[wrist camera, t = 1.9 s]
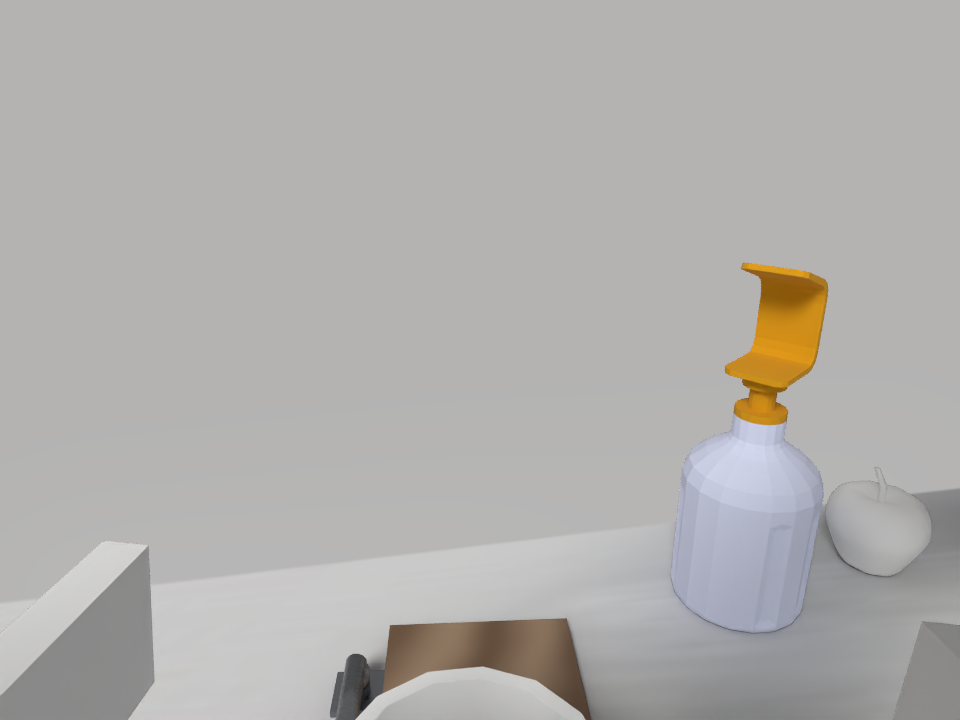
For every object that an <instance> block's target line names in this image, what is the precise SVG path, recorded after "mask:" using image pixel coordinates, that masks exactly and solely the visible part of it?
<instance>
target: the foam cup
mask: <svg viewBox="0 0 960 720" xmlns="http://www.w3.org/2000/svg"><path fill="white" fill-rule="evenodd" d="M355 720H585V718H584V716H583V715H582V713H581V712H579V711H578V710H577V709H575V708H574V707H572V706H571V705H570V704H568V703H567V702H565V701H564V700H563V699H561V698H560V697H559V696H557V695H556V694H554V693H553V692H552V691H550V690H549V689H547V688H546V687H545V686H543V685H542V684H540V683H539V682H538V681H536V680H533V679H529V678H525V677H521V676H518V675H514V674H510V673H506V672H502V671H498V670H494V669H491V668H487V667H473V668H462V669H452V670H442V671H431V672H427V673H425V674H422V675H420V676H418V677H416V678H414V679H412V680H410V681H408V682H406V683H404V684H402V685H400V686H397V687H395V688H393V689H391V690H389V691H387V692H385V693H383V694H381V695H379V696H377V697H376V698H375V699H374V700H373V701H372V702H371V703H370V704H369V706H368V707H367V708H366V709H365V710H364V711H363V712H362V713H361V714H360V715H359V716H358V717H357V718H356V719H355Z"/></svg>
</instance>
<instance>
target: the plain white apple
mask: <svg viewBox="0 0 960 720" xmlns="http://www.w3.org/2000/svg"><path fill="white" fill-rule="evenodd" d="M875 471H876V474H877V478H878V481H879V483H877V482H873V481H858V482H848V483H844V484H841V485H840V486H838V487H837V488H836V489H835V491H833V492H832V494H831V495H830V497H829V499H828V502H827V504H826V509H825V516H826V521H827V525H828V528H829V531H830V534H831V536H832V539H833V542H834V545H835V547H836V549H837V551H838V553H839V554H840V556H841V557H842V558H843V560H844V561H845V562H846V563H848V564H849V565H851V566H853V567H855V568H857V569H859V570H861V571H863V572H865V573H867V574H872V575H879V576H891V575H894V574H897V573H898V572H900V571H901V570H903V569H904V568H905V567H906V566H907V565H908V564H909V563H910V562H912V561H913V560H914V559H915V558H916V557H917V556H918V555H919V554H920V553H921V552H922V551H923V550H924V549H925V548H926V547H927V545H928V544H929V541H930V539H931V534H932V524H931V519H930V516H929V513H928V511H927V509H926V508H925V506H924V504H923V503H922V502H921V501H920V500H918V499H917V498H916V497H914V496H912V495H911V494H909V493H907V492H905V491H904V490H902V489H900V488H898V487H895V486H890V485H886V482H885V480H884V478H883V475H882V472H881V470H880V468H878V467H875Z"/></svg>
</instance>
